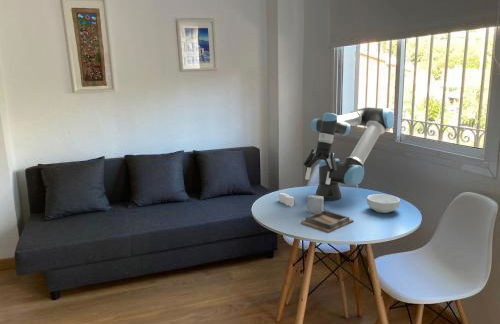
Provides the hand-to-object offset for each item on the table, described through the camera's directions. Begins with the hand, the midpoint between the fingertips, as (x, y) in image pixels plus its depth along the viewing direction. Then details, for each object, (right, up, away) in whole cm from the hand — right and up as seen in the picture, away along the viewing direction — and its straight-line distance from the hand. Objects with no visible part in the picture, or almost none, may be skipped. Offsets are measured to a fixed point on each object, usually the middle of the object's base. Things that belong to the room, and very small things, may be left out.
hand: (316, 181), depth 213 cm
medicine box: (0, -17, +4) cm, 17 cm away
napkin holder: (-15, -14, +19) cm, 28 cm away
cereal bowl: (+36, -16, +4) cm, 40 cm away
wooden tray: (+3, -20, -11) cm, 23 cm away
